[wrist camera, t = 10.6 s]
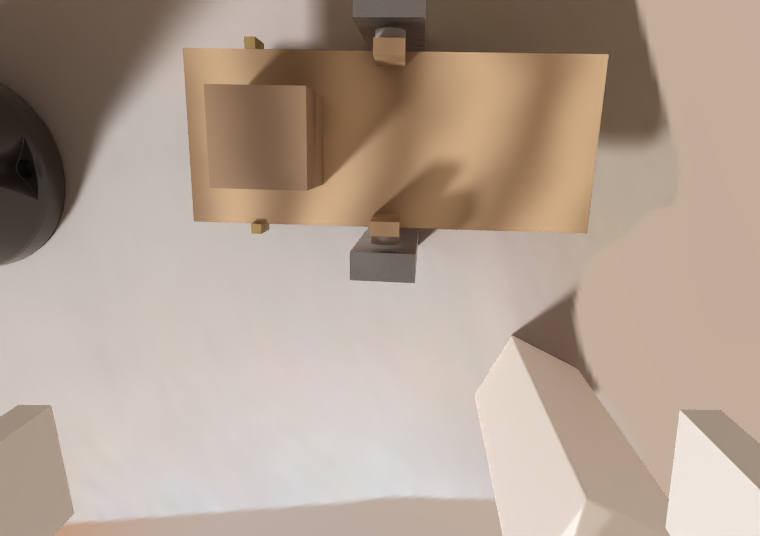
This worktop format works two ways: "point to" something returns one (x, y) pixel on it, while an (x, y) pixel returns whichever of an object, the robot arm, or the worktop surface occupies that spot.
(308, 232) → the worktop surface
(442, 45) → the worktop surface
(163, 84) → the worktop surface
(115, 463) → the worktop surface
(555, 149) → the tan piece
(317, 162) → the block
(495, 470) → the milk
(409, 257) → the fulcrum
